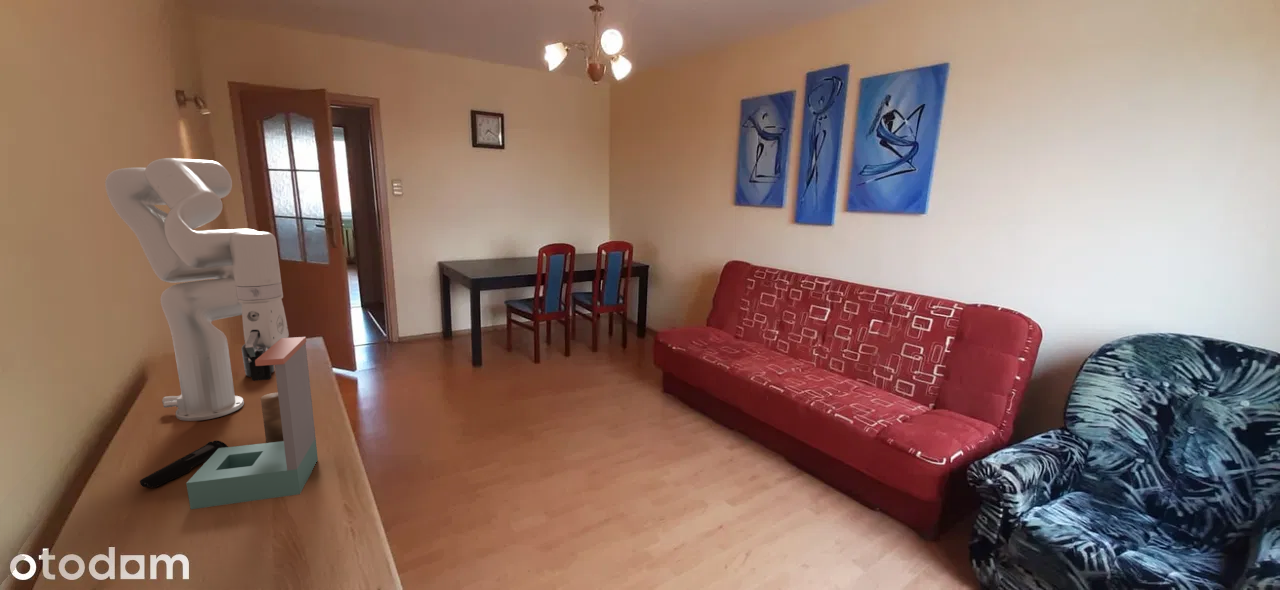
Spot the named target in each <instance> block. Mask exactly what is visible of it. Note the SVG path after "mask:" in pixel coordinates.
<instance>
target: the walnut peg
mask: <svg viewBox="0 0 1280 590" xmlns="http://www.w3.org/2000/svg"><path fill="white" fill-rule="evenodd" d="M260 405H261V412H262V420H263V429H264V436H265V443H271V442H281V441H284V440H283V431H282V423H281V414H280V406H279V398H278V392H272V393H271V392H270V393H266V394H264V395H262V396H260Z"/></svg>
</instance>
